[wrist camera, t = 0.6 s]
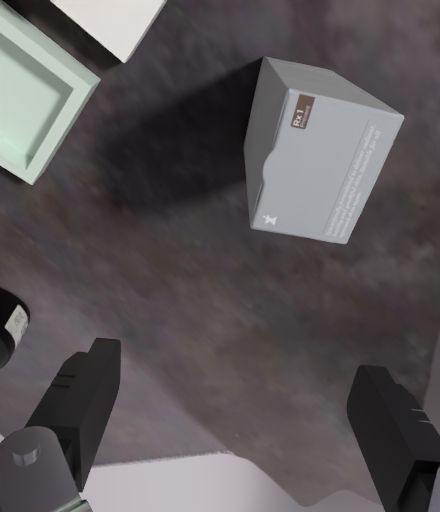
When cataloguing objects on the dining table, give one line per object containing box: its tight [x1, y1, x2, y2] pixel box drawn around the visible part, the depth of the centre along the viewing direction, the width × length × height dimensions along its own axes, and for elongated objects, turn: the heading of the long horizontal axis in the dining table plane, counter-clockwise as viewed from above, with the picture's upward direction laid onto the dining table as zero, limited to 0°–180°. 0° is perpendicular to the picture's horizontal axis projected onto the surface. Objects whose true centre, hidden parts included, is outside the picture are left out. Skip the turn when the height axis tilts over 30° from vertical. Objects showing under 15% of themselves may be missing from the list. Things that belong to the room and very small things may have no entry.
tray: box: [0, 0, 101, 185], centre depth 30 cm, size 11×11×3 cm
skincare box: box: [244, 57, 404, 244], centre depth 27 cm, size 8×7×16 cm
